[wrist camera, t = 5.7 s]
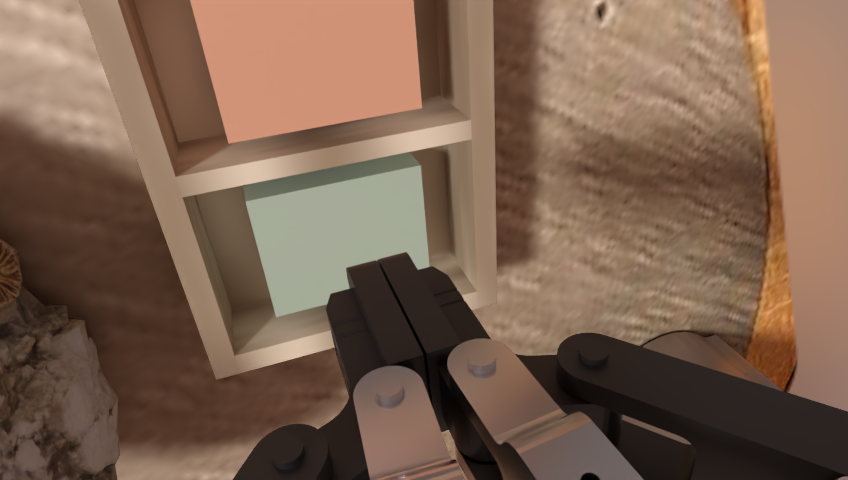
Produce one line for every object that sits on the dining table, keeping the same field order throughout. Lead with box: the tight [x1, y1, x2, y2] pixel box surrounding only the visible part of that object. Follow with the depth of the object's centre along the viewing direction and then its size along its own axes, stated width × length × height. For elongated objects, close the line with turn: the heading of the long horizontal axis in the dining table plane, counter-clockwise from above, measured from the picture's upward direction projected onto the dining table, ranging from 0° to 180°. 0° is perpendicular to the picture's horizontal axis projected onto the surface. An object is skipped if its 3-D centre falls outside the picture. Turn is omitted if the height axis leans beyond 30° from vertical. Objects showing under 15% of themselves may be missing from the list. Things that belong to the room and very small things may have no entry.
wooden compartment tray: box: [79, 0, 497, 380], centre depth 21 cm, size 13×26×4 cm, turn 4°
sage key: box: [243, 152, 429, 317], centre depth 25 cm, size 7×6×2 cm
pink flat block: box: [190, 0, 422, 143], centre depth 20 cm, size 7×6×2 cm
